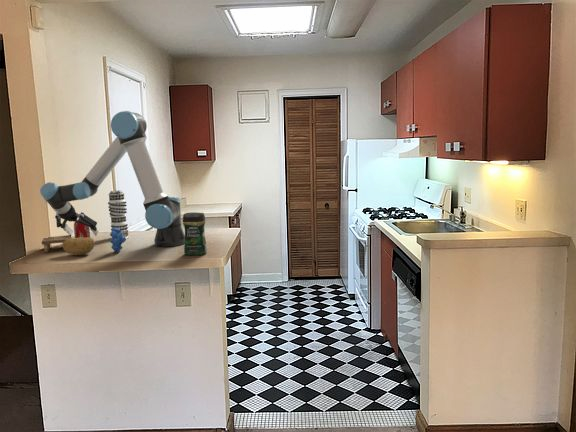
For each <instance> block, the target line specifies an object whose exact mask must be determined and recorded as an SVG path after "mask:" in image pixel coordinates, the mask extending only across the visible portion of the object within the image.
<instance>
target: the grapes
mask: <svg viewBox="0 0 576 432" xmlns="http://www.w3.org/2000/svg"><path fill="white" fill-rule="evenodd" d="M120 232H121V231H120V229H119V228H116V227H114V228H113V229H112V230H111V229H110V234H109V235H110V237H111V239H110V241H109V242H110V243H111V249H113V251H114V252H115V253H117V254H118V253H120V251H122V249H123V246H122V244H123V243H125V242H126V240H127V238H126V239H125V237H123V235H122V234H121V233H120Z"/></svg>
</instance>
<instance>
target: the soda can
mask: <svg viewBox="0 0 576 432" xmlns="http://www.w3.org/2000/svg"><path fill="white" fill-rule="evenodd" d="M90 231H91V230H90V227H88V226H86V225H84V224H82V223H77V222H74V223H73V232H74V238H79V237H83V238H91V232H90Z"/></svg>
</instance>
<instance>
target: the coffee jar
mask: <svg viewBox="0 0 576 432" xmlns="http://www.w3.org/2000/svg"><path fill="white" fill-rule="evenodd" d="M205 224H206V216H205V213H204V212H185V213H184V214H183V215H182V225H183V227H184V235H185V244H183V245H184V249H183V250H184V255H186V256H202V255H205V254H206V253H207V252H208V248H207V247H208V246H207V241H206V232H205Z"/></svg>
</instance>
